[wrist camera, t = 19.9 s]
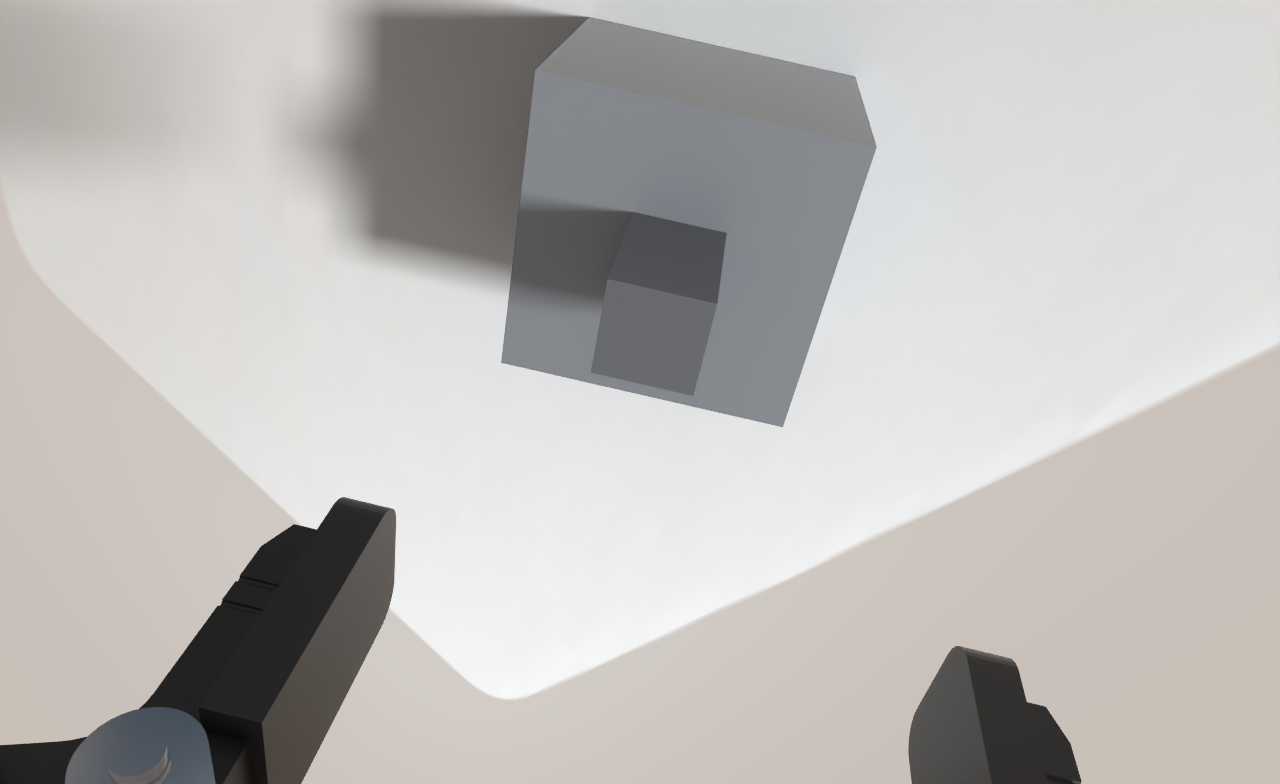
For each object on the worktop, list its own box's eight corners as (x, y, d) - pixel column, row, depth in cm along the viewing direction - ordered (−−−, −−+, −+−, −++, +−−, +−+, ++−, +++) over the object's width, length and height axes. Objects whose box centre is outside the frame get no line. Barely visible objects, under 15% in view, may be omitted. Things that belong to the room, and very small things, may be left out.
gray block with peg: (589, 17, 34) (488, 115, 22) (855, 76, 33) (895, 207, 22) (554, 261, 39) (458, 443, 27) (782, 313, 39) (782, 518, 27)
